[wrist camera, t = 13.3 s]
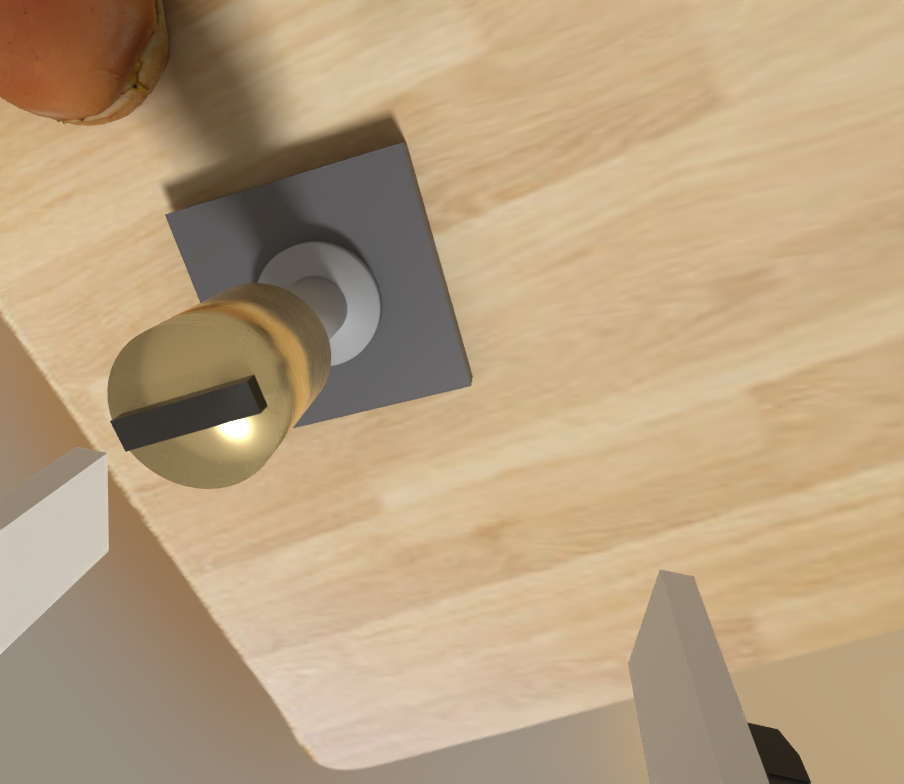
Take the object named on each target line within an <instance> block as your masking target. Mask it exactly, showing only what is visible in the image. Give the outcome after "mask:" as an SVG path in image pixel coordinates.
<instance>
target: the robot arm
mask: <svg viewBox="0 0 904 784" xmlns="http://www.w3.org/2000/svg"><path fill="white" fill-rule="evenodd" d="M108 551H109V545H108V471H107V453H105V452H100V451H95V450H90V449H85V448H81V447H75V448H73V449H72V450H70V451H69V452H67V453H66V454H64V455H63V456H61V457H60V458H58V459H57V460H55V461H54V462H52V463H51V464H49V465H48V466H46V467H45V468H43V469H42V470H40V471H39V472H37V473H36V474H34V475H32V476H31V477H29V478H28V479H26V480H25V481H24V482H22V483H20V484H19V485H18V486H16V487H14V488H13V489H11V490H10V491H8V492H7V493H5V494H4V495H2V496H1V497H0V654H1V653H2V652H3V651H4V650H5V649H6V648H7V647H8V646H9V645H10V644H12V643H13V642H14V641H15V640H16V639H17V638H18V637H19V636H20V635H21V634H22V633H23V632H24V631H25V630H26V629H27V628H28V627H29V626H30V625H31V624H32V623H34V622H35V620H37V619H38V618H39V617H40V616H41V615H42V614H43V613H44V612H45V611H46V610H47V609H48V608H49V607H50V606H51V605H52V604H53V603H54V602H56V601H57V599H59V598H60V597H61V596H62V595H63V594H64V593H65V592H66V591H67V590H68V589H69V588H70V587H71V586H72V585H73V584H74V583H75V582H76V581H77V580H79V579H80V578H81V577H82V576H83V575H84V574H85V573H86V572H87V571H88V570H89V569H90V568H91V567H92V566H93V565H94V564H95V563H96V562H97V561H98V560H99V559H101V557H103V556H104V555H105V554H106V553H107V552H108ZM628 665H629V670H630V676H631V682H632V687H633V693H634V698H635V703H636V709H637V715H638V720H639V726H640V732H641V737H642V742H643V748H644V754H645V759H646V765H647V770H648V776H649V781H650V784H811V781H810V779H809V776H808V774H807V772H806V770H805V767H804V765H803V763H802V760H801V758H800V756H799V754H798V753H797V752H796V751H795V749H794V748H793V747H792V746H791V745H790V743H789V742H788V741H787V740H786V739H785V737H784V736H783V735H782V734H781V732H780V731H779V730H778V729H774V728H770V727H765V726H760V725H755V724H751V723H747V721H746V718H745V715H744V713H743V710H742V707H741V705H740V702H739V699H738V696H737V694H736V691H735V688H734V686H733V683H732V680H731V678H730V675H729V672H728V669H727V666H726V664H725V661H724V658H723V655H722V653H721V650H720V647H719V645H718V642H717V639H716V636H715V634H714V631H713V628H712V626H711V623H710V620H709V617H708V615H707V612H706V609H705V606H704V604H703V601H702V598H701V596H700V593H699V590H698V587H697V585H696V582H695V579H694V576H689V575H684V574H679V573H675V572H670V571H665V570H660V571H659V574H658V577H657V580H656V583H655V586H654V589H653V591H652V594H651V597H650V600H649V603H648V606H647V609H646V612H645V615H644V618H643V621H642V624H641V627H640V630H639V633H638V636H637V639H636V642H635V645H634V648H633V651H632V654H631V657H630V660H629V663H628Z"/></svg>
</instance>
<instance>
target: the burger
mask: <svg viewBox="0 0 904 784" xmlns="http://www.w3.org/2000/svg"><path fill="white" fill-rule="evenodd" d="M167 60H168V34H167V28H166V21H165V14H164V8H163V4H162V0H0V97H1V98H3V99H4V100H6V101H7V102H9V103H11V104H13V105H15V106H17V107H18V108H20V109H23V110H25V111H28V112H30V113H33V114H36V115H39V116H43V117H47V118H52V119H55V120H57V122H60V121H62V122H63V124H65V123H71V124H76V125H87V126H89V125H101V124H105V123H108V122H112V121H115V120H118V119H121V118H123V117H125V116H127V115H128V114H130V113H131V112H133V111H134V109H135V108H136V107H138V106H139V105H141V104H142V103H143V101H144V100H145V99H146V97H147V95H148V94H150V93H151V91H152V90H153V88H154V87H155V85H156V83H157V82H158V80H159V77H160V75H161V73H162V72H163V70H164V67H165V65H166V62H167Z"/></svg>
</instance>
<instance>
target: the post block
mask: <svg viewBox="0 0 904 784" xmlns="http://www.w3.org/2000/svg"><path fill="white" fill-rule="evenodd" d="M165 216H166V218H167V221H168V223H169V226H170V228H171V231H172V233H173V236H174V238H175V241H176V243H177V246H178V248H179V251H180V253H181V256H182V258H183V261H184V263H185V266H186V268H187V270H188V273H189V275H190V278H191V280H192V283H193V285H194V288H195V290H196V293H197V295H198V298H199V300H200V303H201V302H203V301H205V300H207V299H209V298H211V297H213V296H215V295H217V294H219V293H221V292H223V291H225V290H227V289H229V288H232V287H234V286H237V285H241V284H247V283H264V284H270V285H274V286H278V287H281V288H283V289H285V290H288V291H290V292H291V293H293V294H295V295H296V296H298V297H299V298H301V299H302V300H303V301H304V302H306V303H307V304H308V305H309V306H310V307H311V308H312V309H313V311H314V312H315V313H316V314H317V316H318V317H319V319H320V320H321V322H322V324H323V326H324V328H325V330H326V332H327V335H328V338H329V342H330V347H331V368H330V372H329V376H328V378H327V381H326V383H325V385H324V387H323V389H322V390H321V392H320V393H319V394H318V396H317V397H316V398H315V399H314V401H313V402H312V403H311V405H310V406H309V407H308V409H307V410H306V411H305V412H304V414H303V415H302V416H301V418H300V419H299V420H298V422H297V423H296V424H295V425H294V427H293V428H296V427H300V426H304V425H309V424H313V423H317V422H321V421H326V420H330V419H334V418H338V417H342V416H347V415H351V414H355V413H359V412H363V411H368V410H372V409H376V408H380V407H384V406H389V405H393V404H397V403H401V402H405V401H410V400H414V399H418V398H422V397H426V396H431V395H435V394H439V393H443V392H447V391H452V390H456V389H460V388H464V387H469V386H471V383H472V377H473V376H472V373H471V369H470V366H469V362H468V359H467V355H466V352H465V348H464V345H463V341H462V337H461V334H460V330H459V327H458V323H457V320H456V316H455V313H454V309H453V306H452V302H451V299H450V295H449V292H448V288H447V284H446V281H445V277H444V274H443V270H442V267H441V263H440V260H439V256H438V253H437V249H436V246H435V242H434V239H433V235H432V232H431V228H430V224H429V221H428V217H427V214H426V210H425V207H424V203H423V200H422V196H421V193H420V189H419V186H418V182H417V179H416V175H415V171H414V168H413V164H412V161H411V157H410V154H409V150H408V147H407V143H399V144H396V145H392V146H389V147H386V148H382V149H379V150H376V151H373V152H369V153H366V154H363V155H359V156H356V157H353V158H350V159H346V160H343V161H340V162H336V163H333V164H330V165H327V166H323V167H320V168H317V169H313V170H310V171H307V172H304V173H300V174H297V175H294V176H290V177H287V178H284V179H281V180H277V181H274V182H271V183H267V184H264V185H261V186H258V187H254V188H251V189H248V190H244V191H241V192H238V193H235V194H231V195H228V196H225V197H221V198H218V199H215V200H212V201H208V202H205V203H202V204H198V205H195V206H192V207H189V208H185V209H182V210H179V211H175V212H172V213H169V214H166V215H165Z"/></svg>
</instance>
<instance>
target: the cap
mask: <svg viewBox="0 0 904 784" xmlns="http://www.w3.org/2000/svg"><path fill="white" fill-rule="evenodd" d="M330 368H331V347H330V342H329V338H328V335H327V332H326V330H325V328H324V326H323V324H322V322H321V320H320V319H319V317H318V316H317V314H316V313H315V312H314V311H313V309H312V308H311V307H310V306H309V305H308V304H307V303H306V302H304V301H303V300H302V299H301V298H299V297H298V296H296V295H295V294H293V293H291V292H290V291H288V290H285V289H283V288H281V287H278V286H274V285H270V284H264V283H247V284H241V285H237V286H234V287H232V288H229V289H227V290H225V291H223V292H221V293H219V294H217V295H215V296H213V297H211V298H209V299H207V300H205V301H203V302H201V303H199V304H197V305H195V306H194V307H192V308H190V309H188V310H186V311H184V312H182V313H180V314H178V315H176V316H174V317H172V318H170V319H168V320H166V321H164V322H162V323H160V324H158V325H156V326H154V327H152V328H150V329H149V330H147V331H145V332H143V333H141V334H140V335H138V336H136V337H135V338H134V339H132V340H131V341H130V342H129V343H128V344H127V345H126V346H125V347H124V348H123V349H122V350H121V352H120V353H119V355H118V356H117V358H116V360H115V362H114V364H113V366H112V369H111V372H110V376H109V381H108V404H109V410H110V414H111V417H112V420H111V421H110V422H111V424H112V426H113V428H114V430H115V432H116V434H117V436H118V438H119V440H120V442H121V444H122V445H123V447H124V449H125V451H130V452H131V453H132V454H133V455H134V456H135V457H136V458H137V459H138V460H139V461H140V462H141V463H143V464H144V465H145V466H146V467H147V468H149V469H150V470H152V471H153V472H155V473H156V474H158V475H160V476H162V477H163V478H165V479H167V480H170V481H172V482H175V483H177V484H181V485H184V486H188V487H194V488H203V489H213V488H222V487H227V486H231V485H234V484H237V483H240V482H242V481H244V480H246V479H248V478H249V477H251V476H252V475H254V474H255V473H256V472H257V471H258V470H260V469H261V468H262V467H263V466H264V464H265V463H266V462H267V461H268V459H269V458H270V457H271V455H272V454H273V453H274V451H275V450H276V449H277V448H278V446H279V445H280V444H281V442H282V441H283V440H284V438H285V437H286V436H287V435H288V433H289V432H290V431H291V429H292V428H293V427H294V425H295V424H296V423H297V422H298V420H299V419H300V418H301V416H302V415H303V414H304V412H305V411H306V410H307V409H308V407H309V406H310V405H311V403H312V402H313V401H314V399H315V398H316V397H317V396H318V394H319V393H320V392H321V390H322V389H323V387H324V385H325V383H326V381H327V378H328V376H329V372H330Z"/></svg>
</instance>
